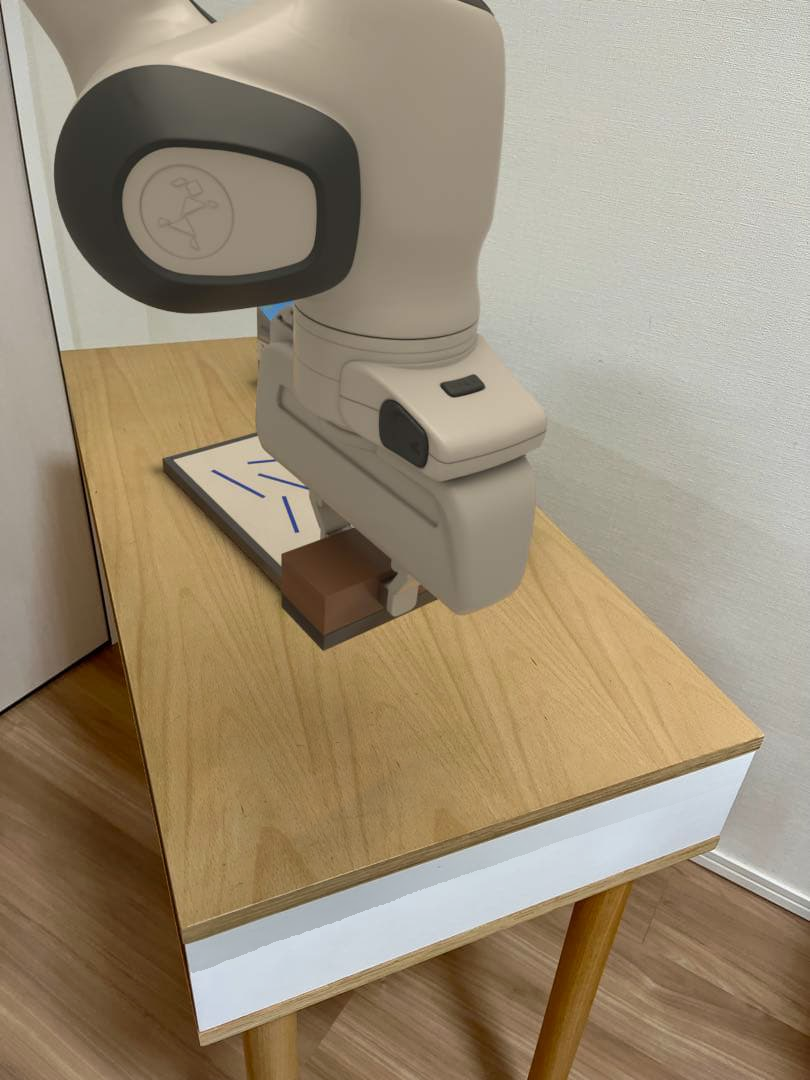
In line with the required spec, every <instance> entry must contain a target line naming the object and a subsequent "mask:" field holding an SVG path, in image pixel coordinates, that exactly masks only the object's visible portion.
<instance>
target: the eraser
mask: <svg viewBox="0 0 810 1080" xmlns="http://www.w3.org/2000/svg"><path fill="white" fill-rule="evenodd" d="M391 560H392V559H391V558H389V557H388V556H387V555H386V554H385V553H384V552H382V551H381V550H380V549H379V548H378V547H377V546H375V545H374V544H373V543H372V542H371V541H370V540H368V539H367V538H366V537H365V536H364V535H363V534H361V533H360V532H359V531H358V530H357V529H356V528H351V529H348V530H345V531H343V532H340V533H337V534H334V535H332V536H329V537H326V538H323V539H321V540H318V541H315V542H312V543H309V544H307V545H304V546H301V547H298V548H296V549H293V550H290V551H287V552H285V553H282V554H281V589H280V592H281V609H283V611H284V612H285V613H286V614H287V616H289V617H290V618H291V619H292V620H293V621H294V622H295V623H296V624H297V625H298V626H299V627H300V629H301V630H302V631H303V632H304V633H305V634H306V635H307V637H309V638H310V639H311V640H312V642H314V643H315V644H316V646H318V647H319V649H320V650H321V651H322V652H324V651H327V650H329V649H331V648H334V647H336V646H339V645H340V644H343V643H345V642H347V641H349V640H351V639H354V638H355V637H358V636H360V635H362V634H364V633H367V632H370V631H371V630H374V629H376V628H378V627H380V626H382V625H385V624H388V623H389V622H391V621H394V620H395V619H398V618H400V617H402V616H404V615H407V614H409V613H411V612H414V611H416V610H418V609H420V608H422V607H425V606H426V605H429V604H431V603H433V602H435V601H439V600H438V599H437V598H436V597H435V596H434V595H433V594H431V593H430V592H429V591H428V590H427V589H426V588H424V587H423V586H422V585H419V586H418V593H417V601H416V604H415V606H414V607H413V609H411V610H410V611H408V612H405V613H403V614H401V615H399V616H396V617H395V616H392V615H391V614H390V613H389V612H388V611H387V610H386V609H385V608H384V607H383V606H382V605H381V604H380V603H379V602H378V601H377V598H378V595H379V594H378V586H379V581H381V580H383V579H386V578H388V577H393V575H396V574H398V572H395V571H394V570H393V569H392V568H391Z"/></svg>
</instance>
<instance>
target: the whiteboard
mask: <svg viewBox="0 0 810 1080" xmlns="http://www.w3.org/2000/svg"><path fill="white" fill-rule="evenodd" d="M161 461H162V468H163V469H162V470H163V472H165V474H167V476H168V477H169V478H170V479H171V480H172V481H173V482H174V483H175V484H176V485H177V486H178V487H179V488H180V489H181V490H182V491H183V492H184V494H186V495H187V496H188V497H189V498H190V499H191V500H192V501H193V502H194V503H195V504H196V505H197V506H198V507H199V508H200V509H201V510H202V511H203V512H204V513H205V514H206V515H207V516H208V517H209V518H210V519H211V520H212V521H213V522H214V524H216V525H217V526H218V528H219V529H221V530H222V532H224V534H225V535H226V536H227V537H228V538H230V540H231V541H232V542H233V543H234V544H235V545H236V546H237V547H238V548H239V549H240V550H241V551H242V552H243V553H244V554H245V556H247V557H248V558H249V559H250V560H251V562H253V563H254V564H255V565H256V566H257V567H258V568H259V569H260V570H261V571H262V572H263V573H264V574H265V576H267V577H268V578H269V579H270V580H271V581H272V582H273V584H275V586H277V587H278V589H279V590H281V554H282V553H285V552H287V551H290V550H293V549H296V548H298V547H301V546H304V545H307V544H309V543H312V542H315V541H318V540H320V528H319V525H318V522H317V520H316V517H315V514H314V511H313V508H312V505H311V502H310V499H309V488H308V487H306V486H305V485H304V484H303V483H302V482H301V481H299V480H298V479H297V478H296V477H295V476H294V475H292V474H291V473H290V472H289V471H288V470H287V469H285V468H284V467H283V466H282V465H281V464H280V463H278V462H277V461H276V460H275V459H274V458H273V457H271V456H270V455H269V454H268V453H267V452H265V451H264V449H263V448H262V446H261V444H260V441H259V438H258V435H257V431H256V432H253V433H249V434H246V435H241V436H238V437H235V438H231V439H228V440H224V441H220V442H217V443H213V444H209V445H205V446H202V447H199V448H196V449H192V450H188V451H184V452H181V453H177V454H174V455H173V454H172V455H170V456H166V457H163V458H161ZM351 526H352V525H351ZM352 527H353V526H352ZM353 528H354V527H353Z"/></svg>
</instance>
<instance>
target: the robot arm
mask: <svg viewBox="0 0 810 1080" xmlns="http://www.w3.org/2000/svg"><path fill="white" fill-rule="evenodd" d="M22 2H23V3H24V4H25V6H26V8H28V10H29V11H30V13H31V14H32V15H33V17H34V19H35V20H36V21H37V23H38V24H39V26H40V27H41V29H42V30H43V31H44V33H45V34H46V36H47V37H48V38H49V40H50V42H51V43H52V44H53V46H54V47H55V49H56V50H57V52H58V55H59V56H60V57H61V60H62V62H63V64H64V66H65V68H66V71H67V73H68V75H69V78H70V80H71V84H72V87H73V90H74V94H75V97H76V100H75V101H74V103H73V105H72V106H71V108H70V110H69V112H68V114H67V117H66V119H65V121H64V123H63V124H62V127H61V130H60V133H59V136H58V139H57V143H56V146H55V153H54V161H53V184H54V192H55V197H56V203H57V206H58V210H59V213H60V217H61V219H62V222H63V224H64V227H65V229H66V231H67V233H68V235H69V237H70V239H71V240H72V243H73V244H74V245H75V247H76V249H77V250H78V252H79V253H80V254H81V256H82V257H83V258H84V260H85V261H86V262H87V263H88V265H89V266H90V267H91V268H92V269H93V270H94V271H95V272H96V274H98V276H100V277H101V278H102V279H103V280H104V281H106V283H108V284H109V285H111V286H112V287H113V288H115V289H116V290H117V291H119V293H120V292H121V293H122V294H124V295H125V296H127V297H129V298H130V299H131V300H135V301H136V302H139V303H140V304H143V305H146V306H148V307H149V308H153V309H156V310H161V311H165V312H170V313H175V314H189V315H193V314H194V315H196V314H199V315H201V314H212V313H221V312H230V311H238V310H239V311H240V310H245V309H252V308H257V307H260V306H267V305H273V304H279V303H284V302H289V301H293V305H287V306H286V307H284V308H283V309H281V310H280V311H278V312H277V314H276V315H275V317H274V318H272V319H271V323H270V344H268V345H267V346H266V347H265V348H264V350H263V352H262V355H261V358H260V363H259V371H258V370H257V381H256V382H257V383H256V394H255V419H254V420H255V421H254V423H255V424H254V425H255V431H256V432H257V435H258V438H259V441H260V444H261V446H262V448H263V449H264V451H265V452H267V453H268V454H269V455H270V456H271V457H273V458H274V459H275V460H276V461H277V462H278V463H280V464H281V465H282V466H283V467H284V468H285V469H287V470H288V471H289V472H290V473H291V474H292V475H294V476H295V477H296V478H297V479H298V480H299V481H301V482H302V483H303V484H304V485H305V486H306V487H308V488H309V499H310V502H311V505H312V508H313V511H314V514H315V517H316V520H317V522H318V525H319V528H320V540H321V539H323V538H326V537H329V536H332V535H334V534H337V533H340V532H343V531H345V530H348V529H351V528H353V527H354V528H356V529H357V530H358V531H359V532H360V533H361V534H363V535H364V536H365V537H366V538H367V539H368V540H370V541H371V542H372V543H373V544H374V545H375V546H377V547H378V548H379V549H380V550H381V551H382V552H384V553H385V554H386V555H387V556H388V557H389V558H391V559H392V560H391V568H392V569H393V570H394V571H395V572H398V574H396V575H393V577H388V578H386V579H383V580H381V581H379V586H378V594H379V595H378V598H377V601H378V602H379V603H380V604H381V605H382V606H383V607H384V608H385V609H386V610H387V611H388V612H389V613H390V614H391V615H392V616H395V617H396V616H399V615H401V614H403V613H405V612H408V611H410V610H411V609H413V607H414V606H415V604H416V601H417V593H418V586H419V585H422V586H423V587H424V588H426V589H427V590H428V591H429V592H430V593H431V594H433V595H434V596H435V597H436V598H437V599H438V600H437V601H440V602H441V603H442V604H443V605H444V606H445V607H446V608H447V609H448V610H450V611H451V612H452V613H454V614H455V615H457V616H461V617H462V616H464V617H465V616H467V615H472V614H474V613H477V612H480V611H482V610H486V609H487V608H490V607H492V606H494V605H495V604H498V603H500V602H501V601H504V600H505V599H507V598H508V597H510V596H511V595H513V594H514V593H515V592H516V591H517V590H518V589H519V587H520V585H521V584H522V581H523V579H524V575H525V572H526V567H527V563H528V558H529V555H530V549H531V542H532V537H533V530H534V524H535V516H536V508H537V483H536V479H535V473H534V470H533V468H532V466H531V463H530V461H529V460H528V457H526V456H524V455H525V454H526V455H527V454H529V453H530V452H533V451H535V450H537V449H538V448H540V447H541V446H542V445H543V443H544V441H545V438H546V434H547V430H548V416H547V414H546V411H545V409H544V408H543V406H542V405H541V403H539V402H538V401H537V399H536V398H535V397H534V396H533V394H531V393H530V392H529V391H528V390H527V389H526V388H525V386H524V385H523V384H522V383H521V382H520V381H519V380H518V379H517V377H516V376H514V374H513V373H512V372H511V371H510V370H509V368H508V367H507V366H506V364H504V362H503V361H502V360H501V358H500V357H499V356H498V355H497V353H496V352H495V350H494V349H493V347H492V346H491V345H490V343H489V342H488V340H487V339H486V338H485V337H484V336H483V335H482V334H481V333H479V332H478V329H479V322H480V315H481V293H480V289H479V280H478V278H479V276H478V273H479V272H478V271H479V269H478V268H479V261H480V256H481V252H482V248H483V246H484V243H485V241H486V239H487V237H488V235H489V232H490V230H491V228H492V224H493V221H494V217H495V211H496V210H495V209H496V203H497V195H498V186H499V179H500V171H501V160H502V153H503V152H502V151H503V140H504V139H503V138H504V129H505V128H504V127H505V114H506V113H505V112H506V87H507V83H506V81H507V80H506V79H507V78H506V77H507V73H506V72H507V71H506V70H507V68H506V67H507V66H506V50H505V49H506V48H505V40H504V36H503V32H502V31H503V30H502V27H501V25H500V23H499V21H498V20H497V18H496V16H495V14H494V13H493V11H492V10H491V8H490V7H489V6H488V4H487V3H486V2H485V1H484V0H259V1H257V2H255V3H252V5H249V6H248V7H246V8H244V9H241V10H239V11H238V12H235V13H233V14H231V15H228V16H226V17H225V18H222V19H219V20H217V19H216V18H215V17H213V16H212V15H211V14H209V13H208V12H207V11H206V10H205V9H203V7H201V6H200V5H199V4H198V3H197V2H196V1H195V0H22ZM351 525H352V526H353V527H352V526H351Z"/></svg>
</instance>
